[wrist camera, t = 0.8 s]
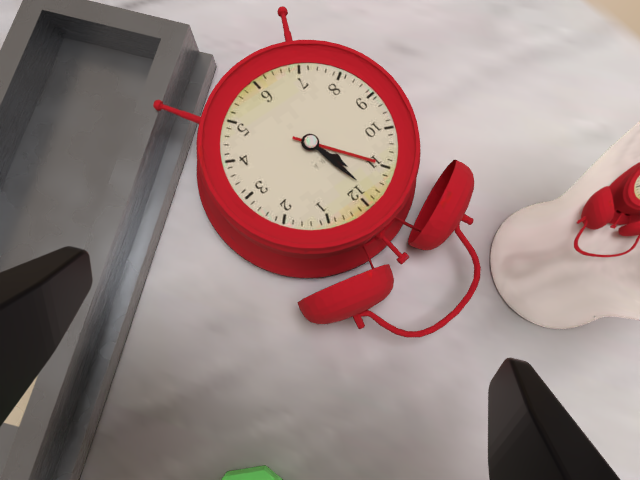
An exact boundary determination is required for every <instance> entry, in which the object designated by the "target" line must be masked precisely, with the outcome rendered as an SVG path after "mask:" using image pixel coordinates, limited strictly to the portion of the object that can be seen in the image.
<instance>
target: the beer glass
mask: <svg viewBox="0 0 640 480" xmlns="http://www.w3.org/2000/svg"><path fill="white" fill-rule="evenodd" d="M490 266H491V273H492V277H493V280H494V283H495V285H496V288H497V290H498V291H499V293H500V295H501V296H502V298H503V299H504V301H505V302H506V303H507V304H508V305H509V306H510V308H511V309H513V310H514V311H515V312H516V313H517V314H518V315H520V316H521V317H523V318H524V319H526V320H528V321H530V322H532V323H534V324H537V325H539V326H543V327H546V328H552V329H568V328H574V327H579V326H582V325H585V324H587V323H590V322H592V321H595V320H597V319H599V318H602V317H607V316H609V317H622V318H628V319H634V320H639V321H640V121H639V122H638V123H637V124H636V125H634V126H633V127H632V128H631V129H630V130H629V131H628V132H627V133H625V134H624V135H623V136H622V137H621V138H620V139H619V140H617V141H616V142H615V143H614V144H613V145H612V146H611V147H610V148H609V149H608V150H607V151H606V152H605V153H604V154H603V155H602V156H601V157H600V158H599V159H598V160H597V161H596V162H595V163H594V164H593V165H592V166H591V167H590V168H589V169H588V170H587V171H586V172H585V173H584V174H583V175H582V176H581V177H580V178H579V179H578V180H577V181H576V182H575V183H574V184H573V185H572V186H571V187H570V188H569V189H568V190H567V191H566V192H565V193H564V194H563V195H561V196H560V197H559V198H557V199H555V200H552V201H547V202H541V203H537V204H533V205H530V206H527V207H525V208H522V209H520V210H518V211H516V212H515V213H513V214H512V215H511V216H509V217H508V218H507V219H506V220H505V221H504V223H503V224H502V225H501V226H500V228H499V230H498V231H497V233H496V235H495V237H494V240H493V243H492V247H491V253H490Z"/></svg>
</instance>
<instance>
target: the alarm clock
mask: <svg viewBox="0 0 640 480" xmlns="http://www.w3.org/2000/svg"><path fill="white" fill-rule="evenodd" d="M287 14H288V12H287V9H286V8H285V7H280V8H279V9H278V15H279V16H280V17H281V18H282V23H283V28H284V36H285V41H286V42H282V43H278V44H274V45H271V46H268V47H266V48H263V49H260V50H258V51H256V52H254V53H253V54H251V55H249V56H247V57H246V58H244V59H243V60H241V61H240V62H238V63H237V64H236V65H235V66H233V67H232V68H231V69H230V70H229V71H228V72H227V73H226V74H225V75H224V76H223V77H222V78H221V80H220V81H219V82H218V84H217V85H216V86H215V88H214V89H213V91H212V93H211V94H210V96H209V98H208V100H207V102H206V104H205V107H204V110H203V113H202V116H201V117H200V116H197V115H194V114H191V113H189V112H186V111H181V110H178V109H175V108H173V107H170V106H167V105H164V104H163V102H162V101H161V100H155V101H154V104H153V107H154V108H155V109H156V110H158V111H161V109H163V110H166V111H169V112H171V113H174V114H176V115H179V116H180V117H182V118H185V119H187V120H190V121H193V122H195V123H198V124H199V128H198V133H197V183H198V189H199V194H200V198H201V202H202V205H203V207H204V210H205V212H206V214H207V216H208V218H209V220H210V222H211V223H212V225H213V227H214V228H215V230H216V231H217V233H218V234H219V235H220V236H221V238H222V239H223V240H224V241H225V242H226V243H227V244H228V245H229V246H230V247H231V248H232V249H233V250H234V251H235V252H236V253H238V254H239V255H240V256H241V257H243V258H244V259H246V260H248V261H249V262H251V263H252V264H254V265H256V266H258V267H260V268H262V269H265V270H267V271H270V272H273V273H276V274H280V275H284V276H289V277H298V278H319V277H326V276H332V275H336V274H339V273H342V272H346V271H348V270H351V269H353V268H356V267H358V266H360V265H362V264H364V263H366V262H367V261H369V263H370V265H371V268H372V269H371V270H369V271H366V272H364V273H361V274H358V275H356V276H353V277H351V278H349V279H346V280H344V281H341V282H339V283H337V284H334V285H332V286H330V287H328V288H325V289H323V290H321V291H319V292H316V293H314V294H312V295H310V296H308V297H306V298H304V299H302V300H301V301H299V302H298V305H299V307H300V310H301V312H302V313H303V315H304V317H305V318H306V319H308V320H309V321H310V322H312V323H316V324H328V323H333V322H337V321H341V320H344V319H347V318H350V317H352V316H353V318H354V320H355V322H356V324H357V326H358V328H359V329H361V328H363V327H364V326H365V325H364V322H363V320H362V318H361V317H362V316H369V317H371V318H372V319H373V320H375V321H376V322H377V323H378V324H379V325H381V326H382V327H384V328H385V329H387V330H389V331H391V332H393V333H395V334H397V335H400V336H404V337H422V336H425V335H428V334H431V333H433V332H435V331H437V330H438V329H440V328H441V327H443V326H445V325H446V324H447V323H448V322H449V321H450V320H452V319H453V318H454V317H455V316H456V315H457V314H459V313H460V311H461V310H462V309H463V308H464V306H465V305H466V304H467V303H468V301H469V300H470V299H471V297H472V295H473V294H474V292H475V290H476V288H477V286H478V283H479V280H480V269H481V267H480V263H479V259H478V256H477V254H476V252H475V250H474V248H473V247H472V245H471V244H470V243H469V241H468V240H467V239H466V237H465V236H464V234H463V233H462V232H461V230H460V227H459V223H460V221H463V222H465V223H467V224H469V225H471V224H472V223H473V218H470V217H469V216H467V215H465V212H466V209H467V207H468V205H469V202H470V199H471V196H472V193H473V190H474V177H473V173H472V172H471V170H470V168H469V167H467V166H466V165H465V164H463V163H462V162H459V161H457V160H453V161H452V162H451V163H450V164H449V165H448V166H447V168H446V169H445V170H444V172H443V173H442V175H441V176H440V178H439V179H438V181H437V182H436V184H435V185H434V187H433V189H432V190H431V192H430V194H429V196H428V198H427V199H426V201H425V203H424V205H423V207H422V209H421V211H420V213H419V215H418V217H417V219H416V221H415V224H414V226H413V225H411V224H409V223H407V222H405V219H406V217H407V215H408V212H409V210H410V208H411V205H412V201H413V198H414V193H415V187H416V177H417V173H418V169H419V164H420V138H419V131H418V126H417V121H416V118H415V115H414V112H413V109H412V107H411V104H410V102H409V100H408V98H407V97H406V95H405V93H404V92H403V90H402V88H401V87H400V86H399V85H398V83H397V82H396V81H395V80H394V78H393V77H392V76H391V75H390V74H389V73H388V72H387V71H386V70H385V69H384V68H383V67H381V66H380V65H379V64H377V63H376V62H375V61H373V60H372V59H370V58H369V57H367V56H365V55H364V54H362V53H360V52H358V51H355V50H353V49H351V48H348V47H346V46H343V45H340V44H336V43H331V42H326V41H318V40H296V41H292V36H291V32H290V31H289V27H288V23H287V19H286V15H287ZM403 224H404V225H406V226H408V227H410V228H412V231H411V233H410V236H409V239H408V244H409V245H410V246H413V247H415V248H418V249H421V250H432V249H434V248H436V247H438V246H439V245H441V244H442V243H443V242H445V240H446V239H447V238H448V237H449V236H450V235H451V234H452V232H453V231H454V230H455V233H456V234H457V236H458V237H459V238H460V240H461V241H462V243H463V244H464V246H465V247H466V248H467V250H468V252H469V254H470V255H471V257H472V260H473V264H474V279H473V281H472V284H471V286H470V288H469V290H468V292H467V294H466V295H465V297H464V298H463V299H462V300H461V302H460V303H459V304H458V305H457V306H456V308H455V309H454V310H453V311H452V312H450V313H449V314H448V315H447V316H446V317H445V318H443V319H442V320H441V321H439V322H438V323H436V324H435V325H433V326H431V327H429V328H426V329H424V330H421V331H405V330H402V329H398V328H396V327H394V326H392V325H391V324H389V323H387V322H386V321H384V320H383V319H381V318H380V317H379V316H377V315H376V314H374V313H373V312H371V311H369V310H368V309H370V308H371V307H373V306H374V305H376V304H378V303H379V302H381V301H382V300H384V299H385V298H386V297H387V296H388V295H389V293H390V292H391V290H392V288H393V283H394V278H393V274H392V271H391V268H390V265H389V264H387V265H383V266H380V267H377V268H374V267H373V264H372V262H371V260H370V259H371V258H373V257H374V256H375V255H377V254H378V253H379V252H380V251H382V250H383V249H384V248H385V247H386V246H388V247H389V248H390V249H391V250H392V251H393V252H394V253H395V254H396V255H397V256H398V257H399V258H398V259H397V261H398V262H399V263H400V264H403V263H404V262H405V261H406V260H407V259H408V258H409V256H408V255H407V253H405V252H404V253H403V254H401V253H400V252H399V251H398V249H397V248H396V247H395V246H394V245H393V244H392V243H391V242H390V241H391V240H392V239H393V238H394V237H395V236H396V234H397V233H398V232H399V230H400V228H401V227H402V225H403Z"/></svg>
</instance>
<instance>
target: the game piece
mask: <svg viewBox="0 0 640 480" xmlns="http://www.w3.org/2000/svg"><path fill="white" fill-rule="evenodd" d="M221 480H283V479H282V478H280V477H279V476H278V475H277V474H275V473H274V472H273V471H272V470H270V469H269V468H268V467H267V466H266V465H264V466H258V467H252V468H246V469H240V470H233V471H227V472H226V474H225V475H224V477H223V478H222V479H221Z"/></svg>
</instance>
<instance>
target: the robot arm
mask: <svg viewBox="0 0 640 480" xmlns="http://www.w3.org/2000/svg"><path fill="white" fill-rule="evenodd" d="M92 282H93V277H92V269H91V262H90V256H89V253H88V252H87V251H86V250H84V249H80V248H76V247H72V246H66V247H63V248H60V249H58V250H55V251H53V252H50V253H48V254H45V255H43V256H40V257H38V258H35V259H33V260H30V261H28V262H25V263H23V264H20V265H18V266H15V267H13V268H10V269H8V270H5V271H2V272H0V427H1V425H2V424H3V423H4V421H5V420H6V418H7V417H8V416H9V414H10V413H11V412H12V410H13V409H14V407H15V406H16V405H17V403H18V402H19V400H20V399H21V398H22V396H23V395H24V394H25V392H26V391H27V389H28V388H29V387H30V385H31V384H32V383H33V381H34V380H35V378H36V377H37V376H38V374H39V373H40V371H41V370H42V369H43V367H44V366H45V365H46V363H47V362H48V360H49V359H50V358H51V356H52V355H53V353H54V352H55V350H56V349H57V347H58V345H59V344H60V342H61V340H62V339H63V337H64V335H65V333H66V332H67V330H68V328H69V326H70V325H71V323H72V321H73V319H74V318H75V316H76V314H77V312H78V311H79V309H80V307H81V305H82V303H83V302H84V300H85V298H86V296H87V295H88V293H89V291H90V289H91V286H92ZM488 466H489V478H490V480H620V478H619V477H618V476H617V475H616V473H615V472H614V471H613V470H612V468H611V467H610V466H609V464H608V463H607V462H606V461H605V459H604V458H603V457H602V455H601V454H600V453H599V452H598V450H597V449H596V448H595V447H594V445H593V444H592V443H591V441H590V440H589V439H588V438H587V436H586V435H585V434H584V433H583V431H582V430H581V429H580V427H579V426H578V425H577V424H576V422H575V421H574V420H573V418H572V417H571V416H570V415H569V413H568V412H567V411H566V410H565V408H564V407H563V406H562V404H561V403H560V402H559V401H558V399H557V398H556V397H555V395H554V394H553V393H552V392H551V390H550V389H549V388H548V387H547V385H546V384H545V383H544V381H543V380H542V379H541V378H540V376H539V375H538V374H537V373H536V371H535V370H534V369H533V367H532V366H531V365H530V364H529V363H528V362H526V361H522V360H518V359H514V358H507V359H505V361H504V362H503V363H502V365H501V366H500V368H499V369H498V371H497V372H496V374H495V375H494V377H493V379H492V380H491V382H490V385H489V392H488Z"/></svg>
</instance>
